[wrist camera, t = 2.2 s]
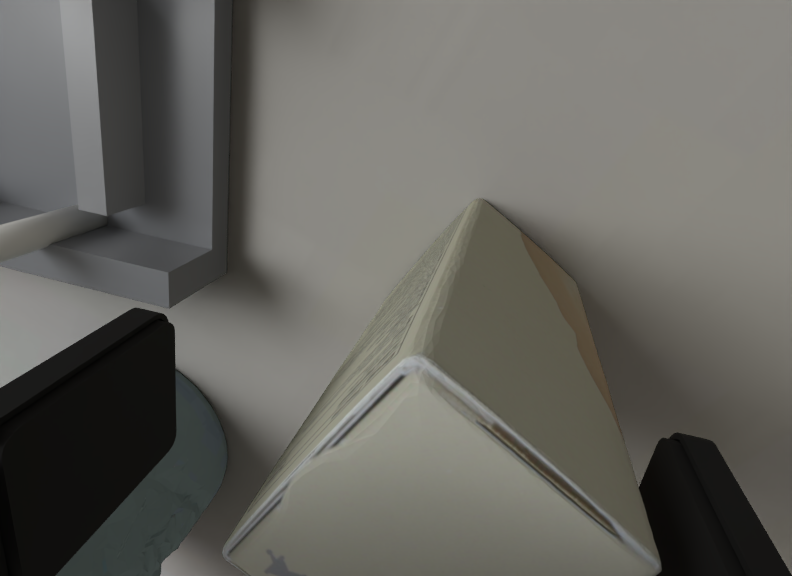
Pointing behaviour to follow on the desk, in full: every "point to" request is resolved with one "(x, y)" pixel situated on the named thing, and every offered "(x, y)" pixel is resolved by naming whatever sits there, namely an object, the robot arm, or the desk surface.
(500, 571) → the box
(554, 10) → the desk surface
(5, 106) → the tray
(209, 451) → the teal embossed cup
